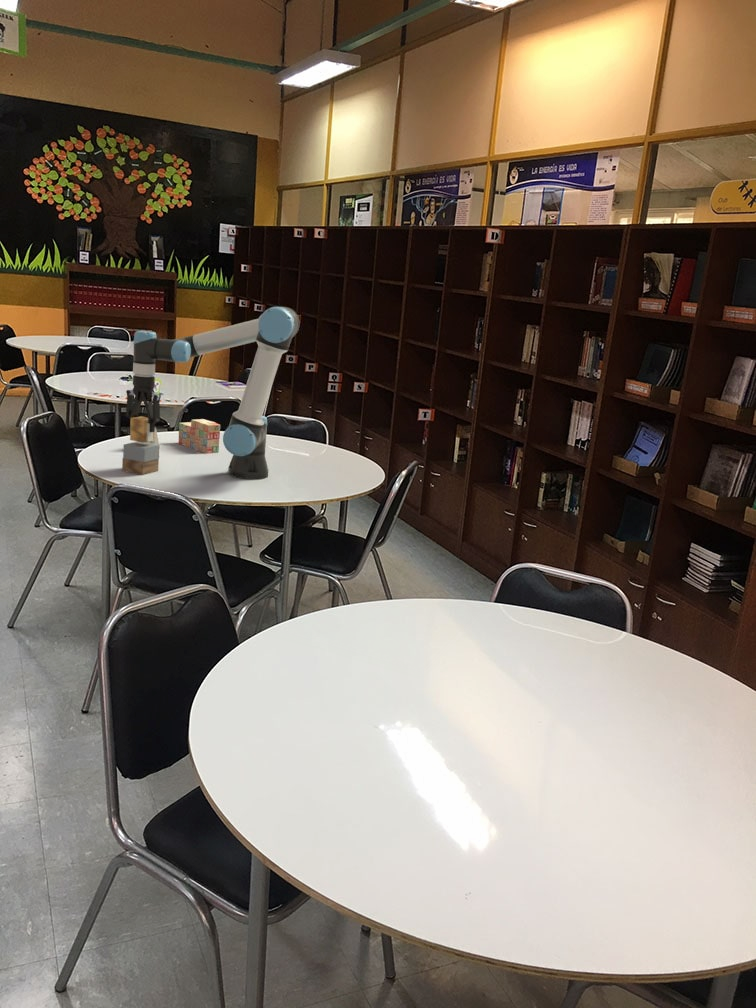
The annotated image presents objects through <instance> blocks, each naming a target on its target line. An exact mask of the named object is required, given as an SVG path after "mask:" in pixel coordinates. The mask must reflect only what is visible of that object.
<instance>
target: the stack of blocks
mask: <svg viewBox="0 0 756 1008" xmlns="http://www.w3.org/2000/svg"><path fill="white" fill-rule="evenodd" d="M220 430H221V424H219V423H217V422H215V421H212V420H208V419H204V418H200V419H199V418H198V419H197V418H196V419H191V421H189V422H188V421H187V422H178V444H179V445H182V446H184V447H186V448H189V449H192V450H196V451H197V452H201V453H204V454H205V455H206V454H218V453H219V452H220V451H219V450H220V435H221V433H220V432H221V431H220Z"/></svg>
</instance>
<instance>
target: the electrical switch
mask: <svg viewBox="0 0 756 1008" xmlns="http://www.w3.org/2000/svg"><path fill="white" fill-rule="evenodd" d="M146 443H151V444H156V445H160V442H159V437H158V431H157V427H155V433H154V441H150V442H146ZM160 449H161V448H160V446H159V450H160Z"/></svg>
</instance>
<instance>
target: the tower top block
mask: <svg viewBox="0 0 756 1008" xmlns="http://www.w3.org/2000/svg"><path fill="white" fill-rule="evenodd" d="M159 447H160V444H159V445H156V444H151V443H146V442H145V443H142V442H137V441H133V442H129V443H124V444H123V446H122V449H123V452H122V454H123V456H122V459H123V458H125V459H130V460H135V461H141V462H147V461H151V460H155V459H159V460H160V449H159Z"/></svg>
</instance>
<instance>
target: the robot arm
mask: <svg viewBox="0 0 756 1008" xmlns="http://www.w3.org/2000/svg"><path fill="white" fill-rule="evenodd" d="M300 323H301V322H300V318H299V316H298V314H297V312H296V311H295V310H293V308H291V307H287V306H271V307H269V308H267V309H266V310H265V311H263V313H262V314H261V315H260V316H259V317H258V318H256V319H251V320H248V321H243V322H240V323H236V324H233V325H232V324H231V325H229V326H228V325H227V326H224V327H220V328H217V329H212V330H209V331H205V332H201V333H197V334H193V335H188V336H185V337H180V338H175V339H168V338H167V339H166V338H158V336H157V333H156V332H155V331H151V330H150V331H149V330H137V331H135V332H134V337H133V363H132V364H133V365H132V374H133V375H132V386H133V388H132V389H126V391H125V392H126V407H125V408H126V409H125V410H126V411H125V417H126V418H128V419H129V420H130V421H131V418H135V417H139V416H138V415H139V411H140V409H141V406H142V403H143V405H144V406H145V409H146V414H147V418H148V420H149V422H148V423H147V438H146V441H153V432H154V431H155V428H156V423H159V422H161V409H160V408H161V404H160V401H161V397H162V396H161V393H160V394H157V393H156V392H155V391H154V387H155V386H156V382H155V381H156V377H155V375H156V360H157V361H166V362H174V363H178V364H179V363H184V364H185V363H188V362H189V360H190V359H192V358H193V357H198V356H201V355H202V356H203V355H206V354H210V353H214V352H218V351H223V350H227V349H230V348H234V347H239V346H243V345H247V344H251V343H255V342H256V344H257V350H256V352H255V356H254V359H253V363H252V366H251V368H250V373H249V375H248V379H247V381H246V384H245V387H244V390H243V394H242V396H241V397H242V398H241V401H240V404H239V407H238V410H236V411H234V412H233V413H232V415H231V418H230V421H229V425H228V426H227V428H226V429H225V430H224V432H223V435H222V441H223V442H222V443H223V445H224V448H225V450H226V451H227V452H228V453H230V454H232V457H231V459H230V462H229V464H228V465H229V466H228V468H227V474H228V475H229V476H231V477H234V478H239V479H247V480H260V479H265V478H268V477H269V468H268V462H267V459H266V445H267V444H266V443H267V430H268V429H267V427H268V418H267V417H266V416H265V415H263V414H264V412H265V409H266V405H267V402H268V399H269V396H270V393H271V389H272V387H273V384H274V381H275V377H276V374H277V371H278V368H279V365H280V361H281V359H282V355H283V354H285V353H287V352H288V351H289V347H290V344H291V342H292V339H293V337H295V336H296V334H298V332H299V330H300V329H299V328H300V325H301V324H300Z"/></svg>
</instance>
